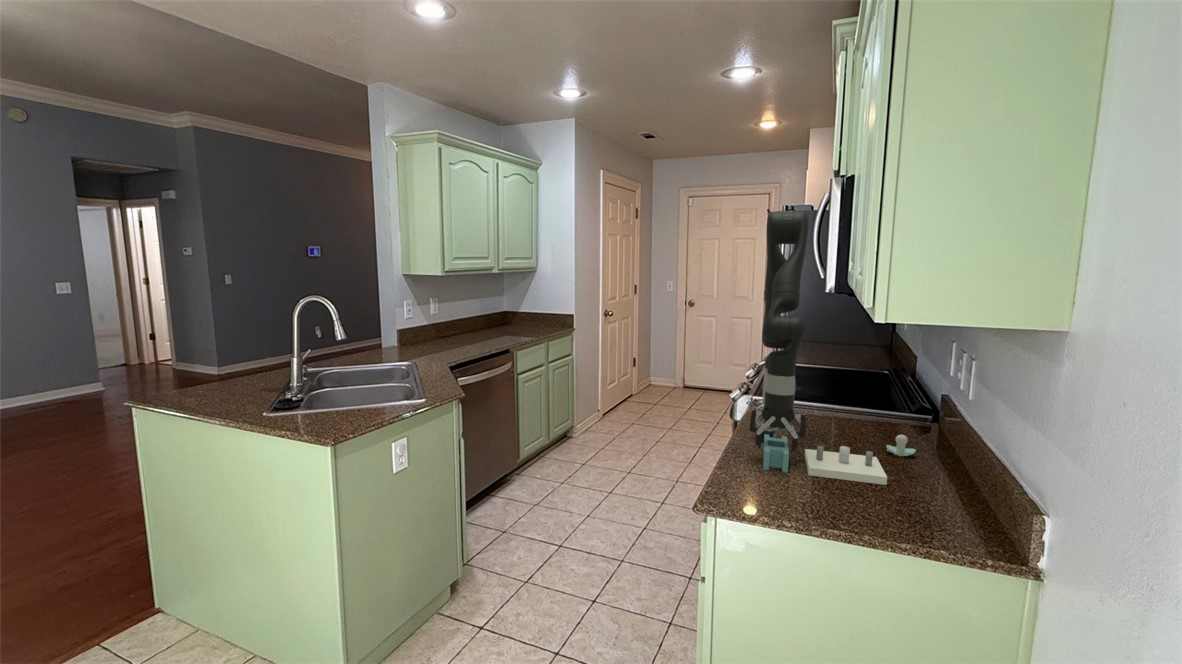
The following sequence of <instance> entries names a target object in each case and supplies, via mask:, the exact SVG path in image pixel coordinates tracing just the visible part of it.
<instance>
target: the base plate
mask: <svg viewBox="0 0 1182 664" xmlns="http://www.w3.org/2000/svg"><path fill="white" fill-rule="evenodd" d="M816 446H817V447H816V449H808V448H804V460H805V464H806V470H807V475H808V476H812V477H820V478H829V479H835V480H836V479H837V480H844V481H850V482H851V481H852V482H858V483H859V482H860V483H868V484H875V485H882V486H884V485H885V486H887V484H888V476H887V474H886V471H885V470H884V469H883V467H882V465H881V463H880V461H879V459H878V458H877V456H873V455H874V452H873V451H869V450H867V451H865V455H864V454H863V455H861V454H852V453H850V451H851V447H849V446H845V445H841V446H839V452H834V451H827V450H824V449H825V447H824V446H823V445H816Z"/></svg>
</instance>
